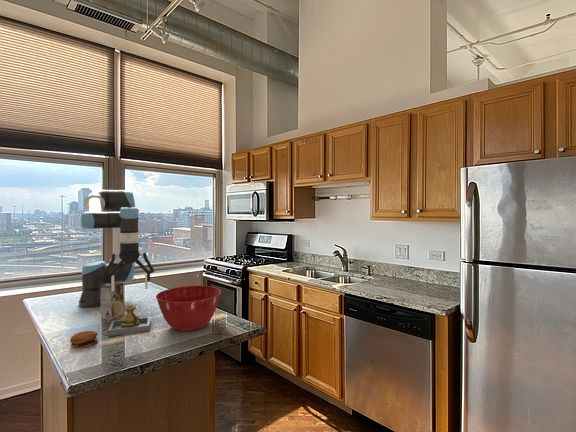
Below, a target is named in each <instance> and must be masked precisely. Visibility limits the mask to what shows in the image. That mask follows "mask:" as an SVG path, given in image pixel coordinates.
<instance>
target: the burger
mask: <svg viewBox="0 0 576 432" xmlns="http://www.w3.org/2000/svg"><path fill="white" fill-rule="evenodd" d="M98 335H99V334H98V332H97V331H94V330H84V331H80V332H77V333H74V334H73V335H72V336H70V347H71V348H77V349H78V348H81V349H82V348H87V347H91V346H93V345H95V344H98V342H99V340H98V337H97V336H98Z"/></svg>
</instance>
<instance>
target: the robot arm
mask: <svg viewBox="0 0 576 432" xmlns="http://www.w3.org/2000/svg"><path fill="white" fill-rule="evenodd" d="M83 204H84V207H85V209H86V210H85V211H84V212H82V213H80V214H81V217H80V218H81V219H80V220H81V224H80V225H81V228H82V229H84V230H85V229H86V230H87V229H89V230H93V229H95V230H97V229H98V230H99V229H112V254H111V258H110V260H109V262H108V263H107V262H106V261H104V260H102V261H101V260H100V261H94V262H89V263H85V264H84V265H82V268H81V276H82V277H81V285H82V286H81V289H82V290H81V294H80V297H79V300H78V307H81V308H94V307H101V299H100V286H104V285H107V284H112V292H113V291H114V283H123V284H124V283H128V282H132V281H133V279H134V276H135V271H136V264H137V265H138V267H140V268H141V269H142V270H143V271H144V272H145V274H144V277H145V278H144V279H145V281H144V283H145V290H147V289H148V282H150V281H151V274H153V273H155V269H154V267H153V265H152V263H151V262H150V260H149V258H148V256H147V252H146V251H144V252H140V251H139V249H140V248H139V242H138V241H139V239H140V236H139V234H140V233H139V216H140V215H139V209H138V208H137V207H136V201H135V197H134V193H133V192H132V191H131V190H124V189H117V190H116V189H114V190H113V189H100V190H99V189H98V190H95V191H93V192H91V193H89V194H88V195H87V196H86V197H85V198H84V201H83ZM140 257H141V258H143V260H144V261H145V264H146V265H147V266H145V265H144V264H143V262H141V261H140V259H139V258H140ZM148 268H149V269H148Z"/></svg>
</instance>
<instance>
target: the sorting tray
mask: <svg viewBox="0 0 576 432" xmlns="http://www.w3.org/2000/svg"><path fill="white" fill-rule="evenodd" d="M138 321H139V326H134V327H125V328H121V323H122V322H121V319H114V320H111V323H110V326H109V327H108V329H107V335H108V337H113V336H120V335H128V334H129V335H130V334H137V333H146V332H150V329H151V328H150V327H151V316H143V317H139V320H138Z"/></svg>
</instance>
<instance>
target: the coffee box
mask: <svg viewBox="0 0 576 432" xmlns="http://www.w3.org/2000/svg"><path fill="white" fill-rule="evenodd" d="M124 287H125V286H124V283H123V282H122V283H114V291H113V292H112V284H106V285H104V286H100V299H101V306H100V319H101V320H111V321H113V319H114V320H115V319H116V318H118V317H121V316H123V315H124V314H125V310H124V308H125V296H124V295H125V294H124V293H125V292H124Z"/></svg>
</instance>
